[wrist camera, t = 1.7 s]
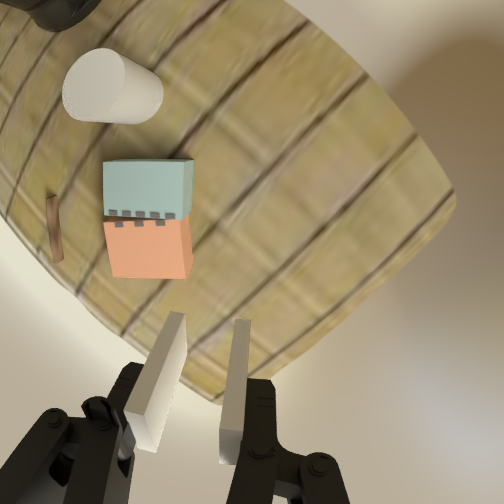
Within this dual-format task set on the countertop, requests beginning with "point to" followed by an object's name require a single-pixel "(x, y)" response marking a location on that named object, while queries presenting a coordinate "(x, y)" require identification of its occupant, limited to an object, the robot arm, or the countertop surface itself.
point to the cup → (111, 89)
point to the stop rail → (54, 228)
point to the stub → (149, 247)
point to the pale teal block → (148, 188)
